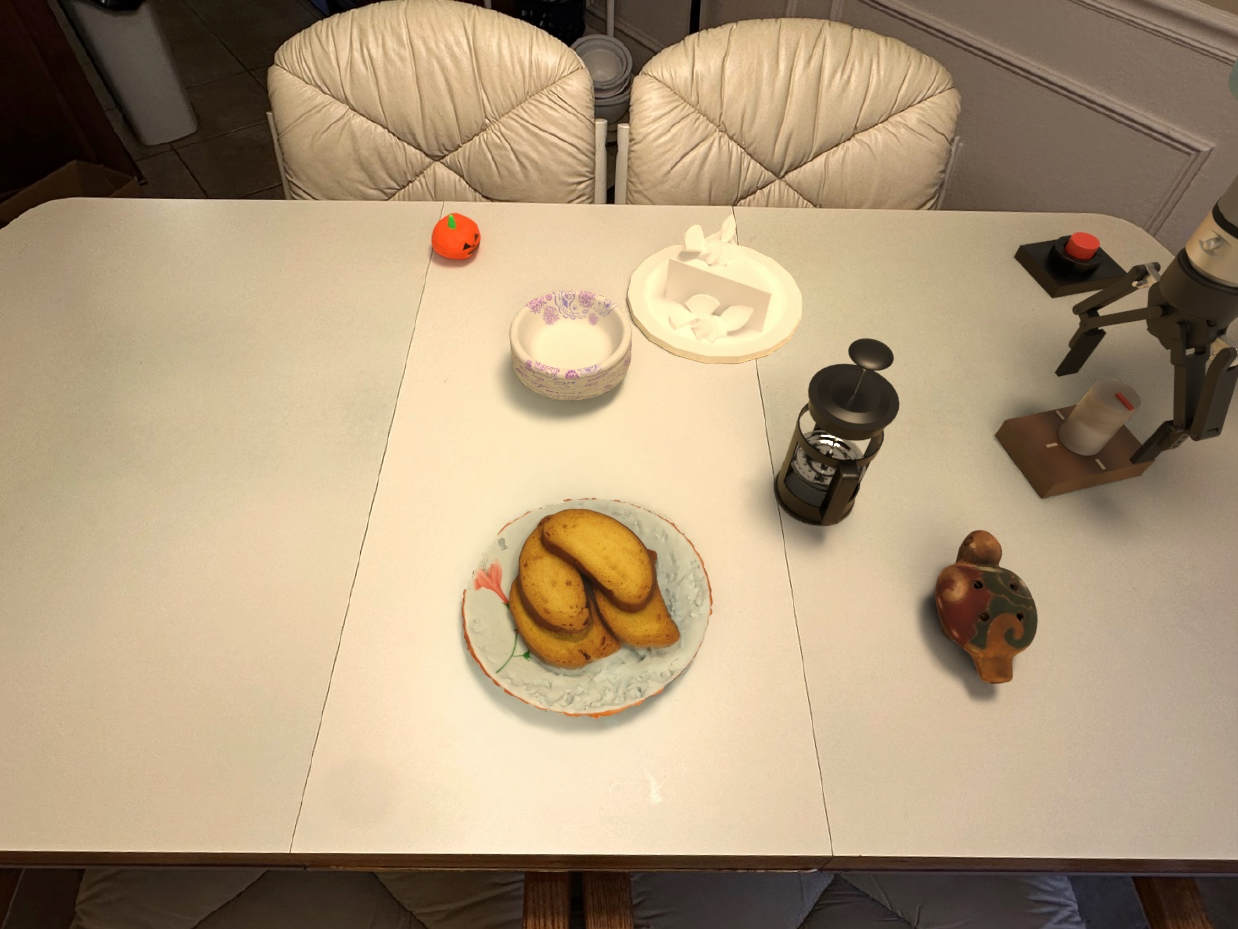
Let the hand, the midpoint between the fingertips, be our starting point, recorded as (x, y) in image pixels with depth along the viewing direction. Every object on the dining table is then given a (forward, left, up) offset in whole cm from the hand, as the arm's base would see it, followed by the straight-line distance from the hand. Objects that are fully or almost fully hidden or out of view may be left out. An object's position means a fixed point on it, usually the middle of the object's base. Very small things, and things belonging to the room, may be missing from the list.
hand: (1101, 414), depth 86 cm
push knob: (-22, -31, -4) cm, 38 cm away
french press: (+33, -2, -8) cm, 34 cm away
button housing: (-22, -31, -8) cm, 39 cm away
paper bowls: (+56, -28, -8) cm, 63 cm away
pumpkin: (+67, -57, -8) cm, 88 cm away
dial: (0, 0, -5) cm, 5 cm away
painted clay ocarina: (+24, +17, -8) cm, 31 cm away
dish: (+33, -37, -8) cm, 50 cm away
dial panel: (0, 0, -8) cm, 8 cm away
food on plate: (+62, +5, -8) cm, 63 cm away
